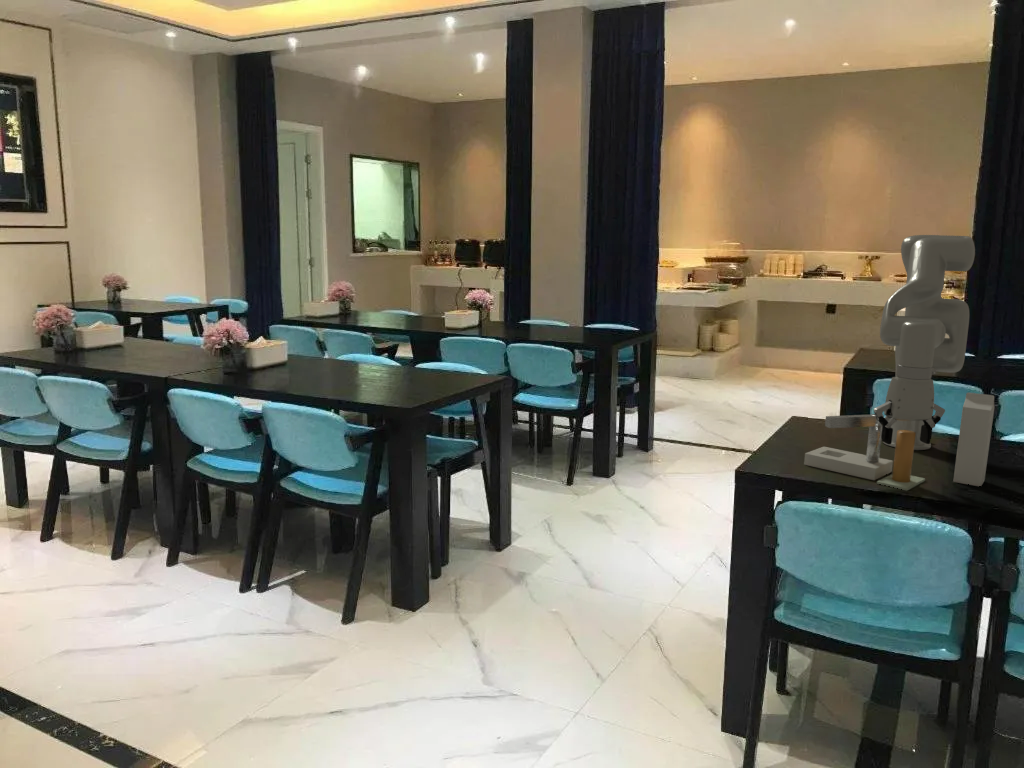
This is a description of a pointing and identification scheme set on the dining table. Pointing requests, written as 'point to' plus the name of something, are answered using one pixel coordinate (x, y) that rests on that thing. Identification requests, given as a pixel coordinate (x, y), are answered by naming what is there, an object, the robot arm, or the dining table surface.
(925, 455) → the dining table surface
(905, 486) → the mat
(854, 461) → the gray rectangular base
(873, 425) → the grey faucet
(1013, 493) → the dining table surface
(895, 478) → the tan rectangular bar
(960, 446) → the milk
